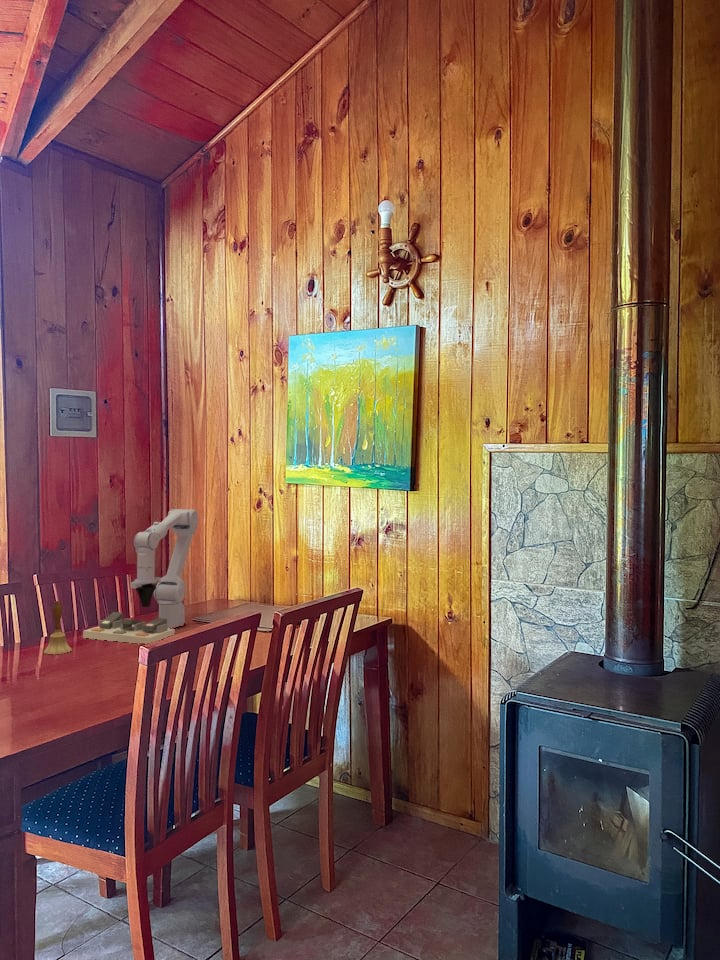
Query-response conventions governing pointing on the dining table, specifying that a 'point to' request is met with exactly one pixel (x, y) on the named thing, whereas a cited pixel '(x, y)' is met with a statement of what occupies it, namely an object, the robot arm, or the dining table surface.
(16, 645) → the dining table surface
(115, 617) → the rocker
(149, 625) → the block
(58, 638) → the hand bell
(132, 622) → the rocker middle
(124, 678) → the dining table surface
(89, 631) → the switch panel
